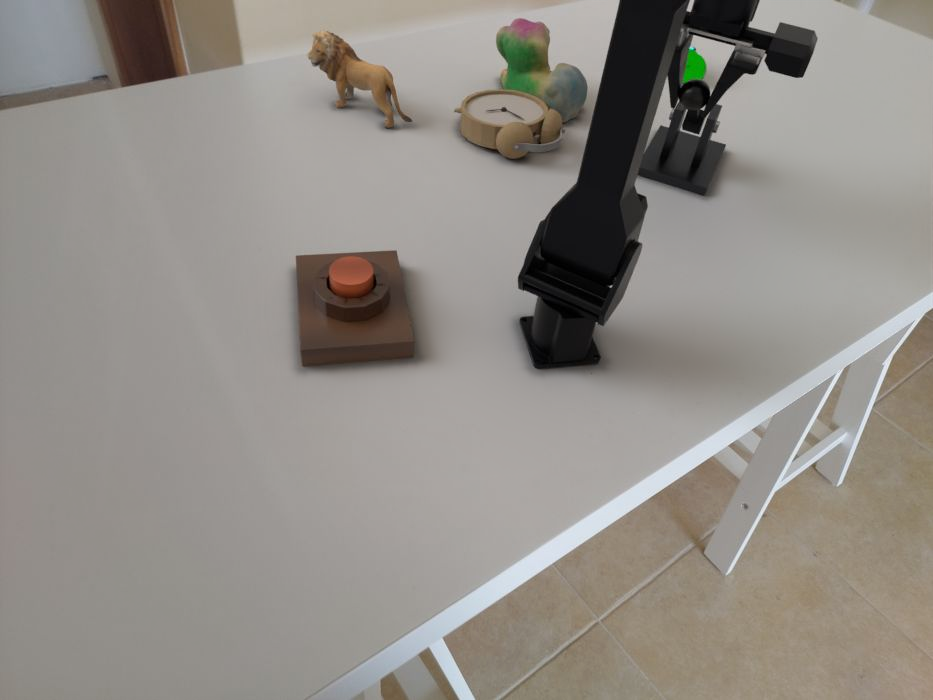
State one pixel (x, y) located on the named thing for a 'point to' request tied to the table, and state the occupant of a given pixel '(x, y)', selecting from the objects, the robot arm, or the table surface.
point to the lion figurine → (354, 73)
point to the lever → (694, 104)
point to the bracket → (683, 154)
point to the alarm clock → (510, 122)
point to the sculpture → (539, 68)
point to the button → (351, 277)
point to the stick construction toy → (694, 66)
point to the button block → (352, 313)
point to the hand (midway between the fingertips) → (689, 111)
